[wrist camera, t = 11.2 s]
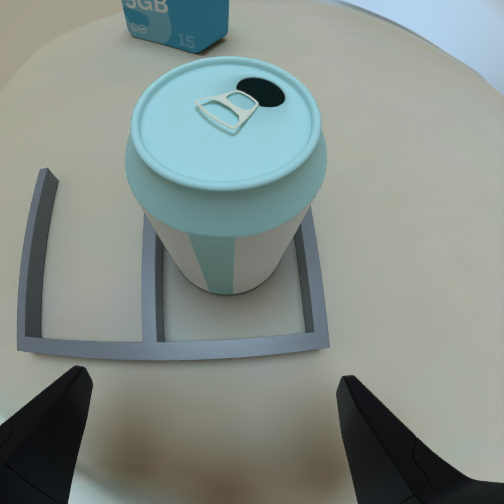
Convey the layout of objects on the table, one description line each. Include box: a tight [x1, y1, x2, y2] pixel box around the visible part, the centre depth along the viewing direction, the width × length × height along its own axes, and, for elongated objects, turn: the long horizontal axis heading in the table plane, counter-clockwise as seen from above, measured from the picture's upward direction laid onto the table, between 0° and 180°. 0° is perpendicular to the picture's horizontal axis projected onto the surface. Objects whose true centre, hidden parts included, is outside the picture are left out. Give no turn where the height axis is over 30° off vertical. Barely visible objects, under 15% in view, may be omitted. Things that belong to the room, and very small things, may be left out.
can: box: [125, 56, 327, 295], centre depth 14 cm, size 7×7×12 cm
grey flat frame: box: [17, 168, 330, 360], centre depth 17 cm, size 14×20×3 cm
